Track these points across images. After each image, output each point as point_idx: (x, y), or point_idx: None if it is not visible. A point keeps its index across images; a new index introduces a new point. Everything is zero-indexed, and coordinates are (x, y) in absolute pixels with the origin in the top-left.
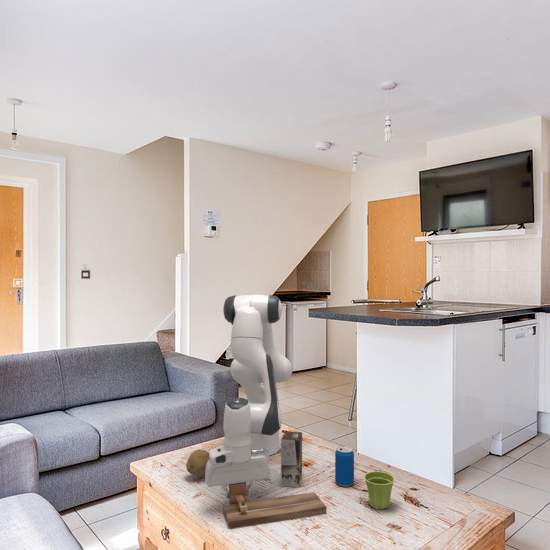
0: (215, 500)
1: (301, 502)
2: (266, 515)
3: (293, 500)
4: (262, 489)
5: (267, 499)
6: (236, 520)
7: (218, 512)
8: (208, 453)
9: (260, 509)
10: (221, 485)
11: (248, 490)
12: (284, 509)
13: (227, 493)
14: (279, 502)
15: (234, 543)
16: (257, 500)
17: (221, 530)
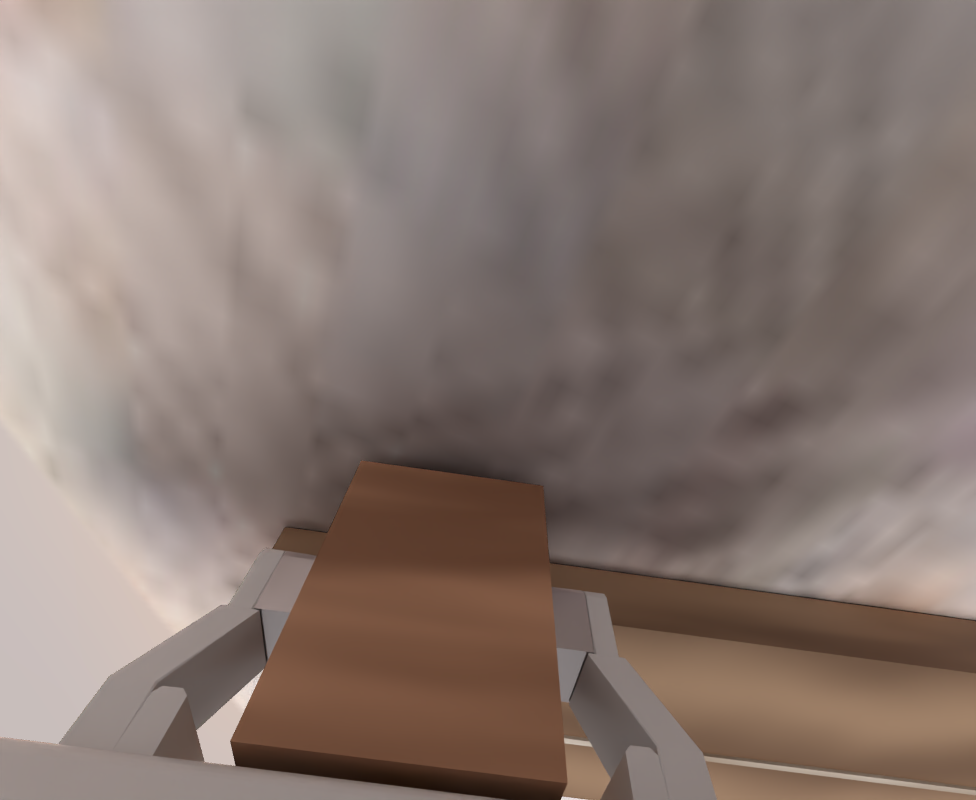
0: (222, 275)
1: (958, 777)
2: (573, 793)
3: (935, 739)
4: (963, 250)
5: (740, 651)
6: None
7: (242, 518)
8: None
9: (573, 741)
10: (107, 699)
11: (567, 694)
12: (749, 789)
13: (265, 654)
14: (799, 719)
15: None
16: (637, 630)
17: (247, 699)
